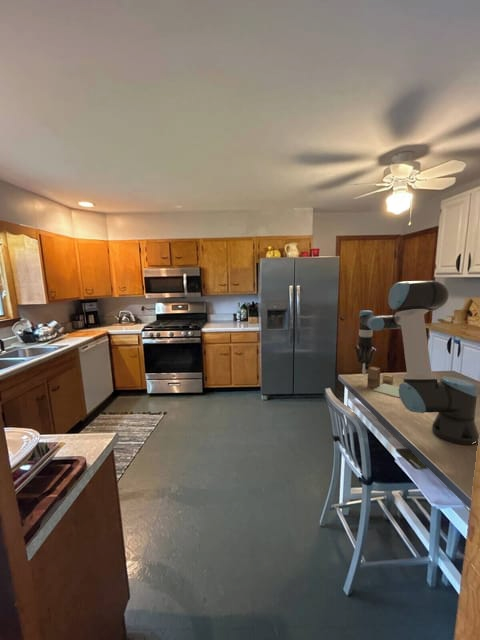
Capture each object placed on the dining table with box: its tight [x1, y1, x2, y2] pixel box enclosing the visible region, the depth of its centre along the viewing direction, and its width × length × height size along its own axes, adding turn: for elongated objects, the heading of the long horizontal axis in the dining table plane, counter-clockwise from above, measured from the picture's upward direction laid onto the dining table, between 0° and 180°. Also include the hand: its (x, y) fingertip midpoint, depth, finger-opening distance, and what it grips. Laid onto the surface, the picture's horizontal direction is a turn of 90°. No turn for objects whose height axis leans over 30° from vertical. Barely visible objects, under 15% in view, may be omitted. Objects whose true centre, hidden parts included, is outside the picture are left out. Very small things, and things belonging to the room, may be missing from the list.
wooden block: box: [366, 366, 381, 389], centre depth 168 cm, size 5×5×11 cm
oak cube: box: [382, 372, 394, 385], centre depth 173 cm, size 5×5×5 cm
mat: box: [372, 383, 400, 399], centre depth 161 cm, size 14×14×1 cm
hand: (364, 373), depth 172 cm, fingers closed
